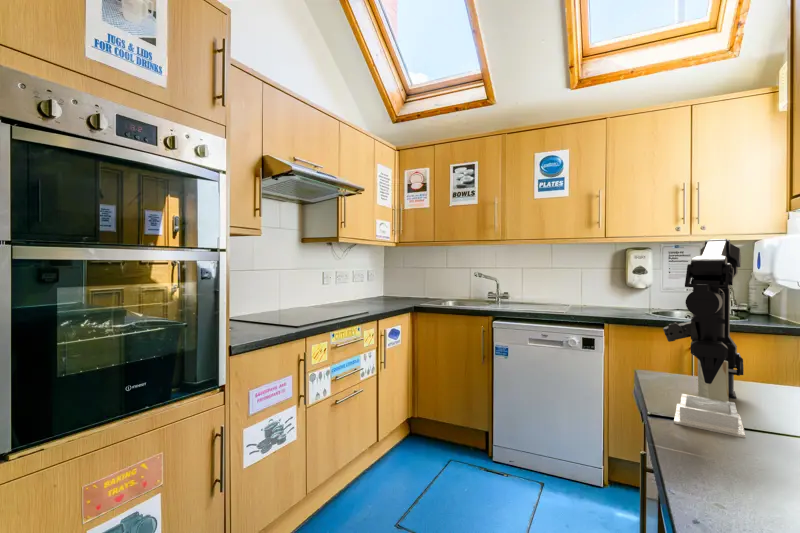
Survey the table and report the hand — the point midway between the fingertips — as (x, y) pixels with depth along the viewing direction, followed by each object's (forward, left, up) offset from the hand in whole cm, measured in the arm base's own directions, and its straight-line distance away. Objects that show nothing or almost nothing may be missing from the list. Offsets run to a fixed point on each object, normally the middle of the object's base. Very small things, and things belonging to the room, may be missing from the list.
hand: (707, 380), depth 89 cm
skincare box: (-12, +1, -9) cm, 15 cm away
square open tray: (0, 0, -9) cm, 9 cm away
